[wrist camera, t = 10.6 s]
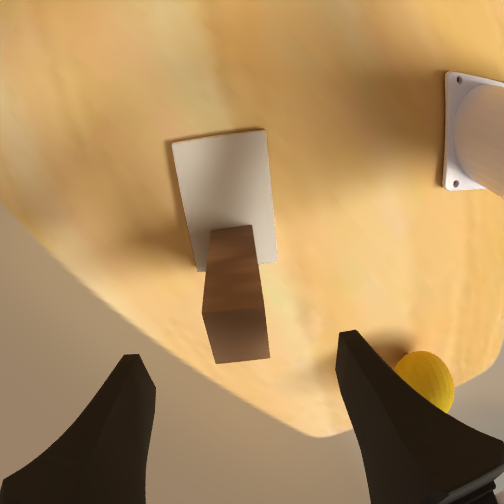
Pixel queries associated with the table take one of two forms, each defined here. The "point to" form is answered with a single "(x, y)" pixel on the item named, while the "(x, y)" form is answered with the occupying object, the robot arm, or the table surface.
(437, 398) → the lemon
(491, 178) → the robot arm
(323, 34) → the table surface
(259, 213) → the brown grey l-shaped block
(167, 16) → the table surface
